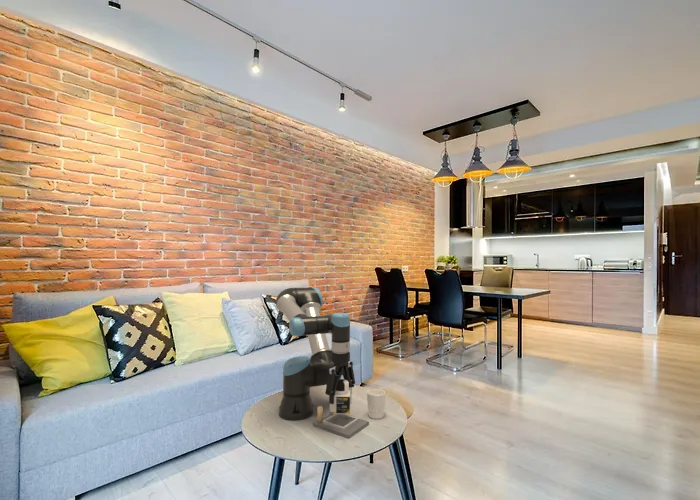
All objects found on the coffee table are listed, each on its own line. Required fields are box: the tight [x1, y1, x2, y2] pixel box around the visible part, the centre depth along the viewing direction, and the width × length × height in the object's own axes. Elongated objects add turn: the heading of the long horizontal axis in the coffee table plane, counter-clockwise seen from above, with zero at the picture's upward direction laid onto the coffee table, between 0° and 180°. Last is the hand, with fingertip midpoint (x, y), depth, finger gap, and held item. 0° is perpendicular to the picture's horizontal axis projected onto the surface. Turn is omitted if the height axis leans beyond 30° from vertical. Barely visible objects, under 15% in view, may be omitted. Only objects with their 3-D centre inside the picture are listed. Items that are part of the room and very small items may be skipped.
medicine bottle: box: [332, 378, 351, 415], centre depth 143 cm, size 7×7×12 cm
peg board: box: [312, 405, 370, 440], centre depth 142 cm, size 18×14×7 cm
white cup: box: [366, 388, 386, 420], centre depth 151 cm, size 8×8×10 cm
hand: (340, 407), depth 142 cm, fingers closed on medicine bottle, 10 cm apart
